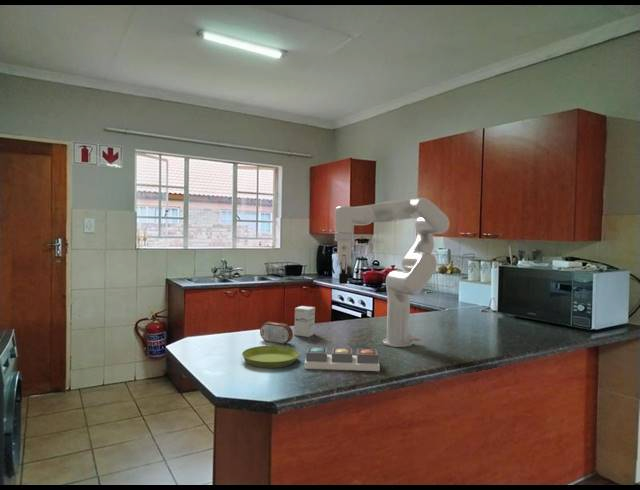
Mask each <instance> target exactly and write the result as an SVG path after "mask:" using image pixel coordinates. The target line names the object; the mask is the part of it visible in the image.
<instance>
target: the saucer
mask: <svg viewBox="0 0 640 490" xmlns="http://www.w3.org/2000/svg"><path fill="white" fill-rule="evenodd" d="M241 355H242V357H243V359H244V361H246V362H247V363H249V364H250V365H252V366H254V367H256V368H257V367H258V368H264V369H265V368H267V369H271V368H272V369H275V368H282V367H288V366H289V365H292V364H293V363H294V362H295V361H296V360H297V359H298V357H299V356H300V352H299V351H298V350H297V349H295V348H292V347H287V346H282V345H281V346H280V345H260V346H254V347H253V346H252V347H249V348H246V349H244V350H243V352H242V353H241Z"/></svg>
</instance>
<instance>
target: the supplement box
mask: <svg viewBox="0 0 640 490" xmlns="http://www.w3.org/2000/svg"><path fill="white" fill-rule="evenodd" d="M315 319H316V307H315V306H306V305H300V306H297V307H295V308H294V326H293V327H294V328H293V329H294V330H293V332H294V333H293V336H298V337H306V338H309V337H311V336H313V335H314V334H315V321H316V320H315Z"/></svg>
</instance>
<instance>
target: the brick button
mask: <svg viewBox="0 0 640 490" xmlns="http://www.w3.org/2000/svg"><path fill="white" fill-rule="evenodd" d="M360 354H374V351H372V350H361V351H360Z"/></svg>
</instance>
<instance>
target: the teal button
mask: <svg viewBox="0 0 640 490" xmlns="http://www.w3.org/2000/svg"><path fill="white" fill-rule="evenodd" d="M321 348H322V347H316V348H312V349H310V352H318V353H324V349H321Z"/></svg>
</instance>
